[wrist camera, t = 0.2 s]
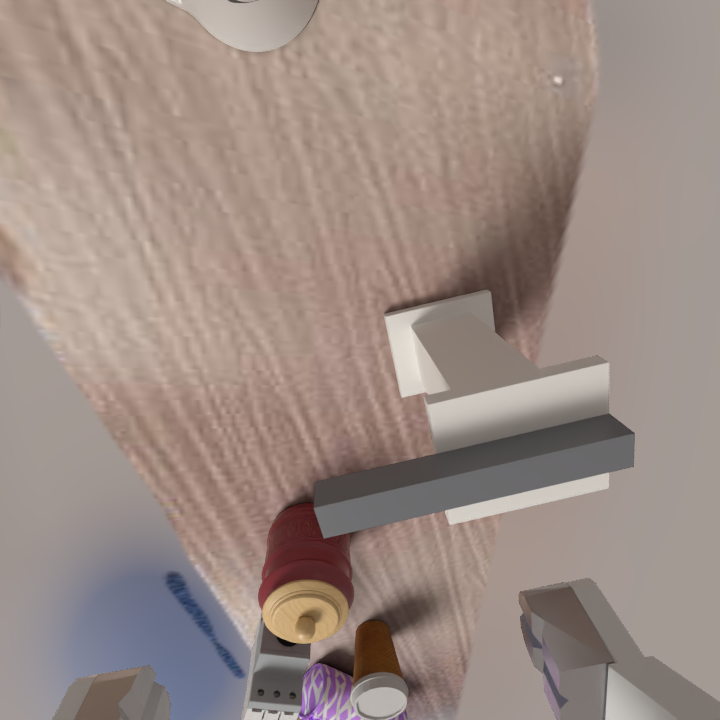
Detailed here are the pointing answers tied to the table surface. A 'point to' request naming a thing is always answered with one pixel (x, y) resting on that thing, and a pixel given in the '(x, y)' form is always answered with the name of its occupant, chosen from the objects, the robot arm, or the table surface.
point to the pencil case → (329, 695)
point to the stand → (490, 388)
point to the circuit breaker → (275, 677)
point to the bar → (473, 474)
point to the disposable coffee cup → (377, 674)
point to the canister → (305, 578)
